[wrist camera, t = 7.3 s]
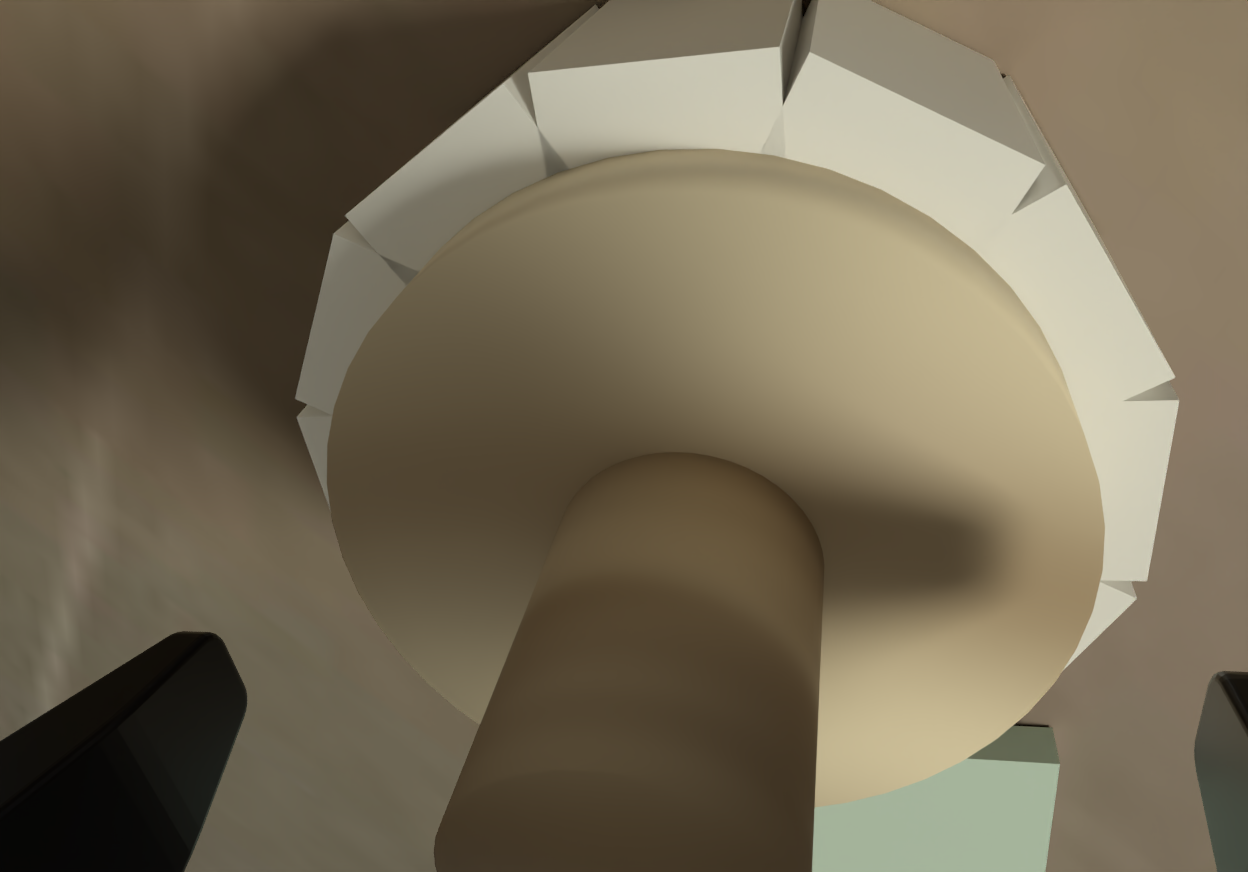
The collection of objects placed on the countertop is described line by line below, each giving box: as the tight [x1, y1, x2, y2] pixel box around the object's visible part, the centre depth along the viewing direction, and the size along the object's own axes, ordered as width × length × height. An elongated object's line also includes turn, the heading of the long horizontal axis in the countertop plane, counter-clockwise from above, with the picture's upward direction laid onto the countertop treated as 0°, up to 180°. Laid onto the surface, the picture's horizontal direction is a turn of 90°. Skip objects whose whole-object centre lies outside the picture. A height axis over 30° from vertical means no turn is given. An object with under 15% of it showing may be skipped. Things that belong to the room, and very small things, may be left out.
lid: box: [327, 149, 1105, 872], centre depth 9 cm, size 8×8×5 cm
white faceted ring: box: [295, 0, 1179, 670], centre depth 13 cm, size 10×10×4 cm
